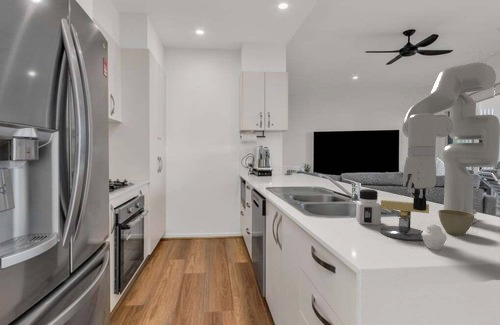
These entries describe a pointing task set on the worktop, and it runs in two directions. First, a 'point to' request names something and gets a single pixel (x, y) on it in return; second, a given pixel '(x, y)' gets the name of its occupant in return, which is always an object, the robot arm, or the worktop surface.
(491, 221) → the worktop surface
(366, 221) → the container
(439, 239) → the white rounded lump
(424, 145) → the robot arm
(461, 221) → the olive brown bowl
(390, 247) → the worktop surface
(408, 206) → the tan t-shaped block
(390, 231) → the post base
